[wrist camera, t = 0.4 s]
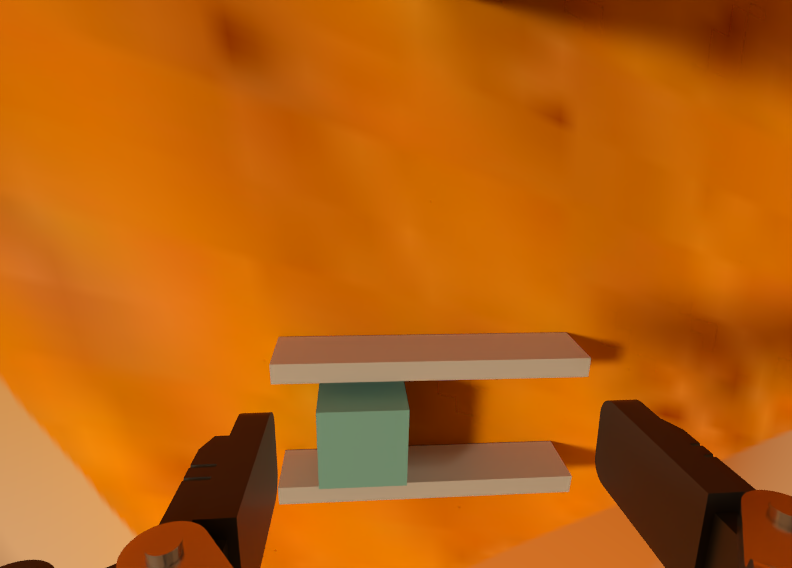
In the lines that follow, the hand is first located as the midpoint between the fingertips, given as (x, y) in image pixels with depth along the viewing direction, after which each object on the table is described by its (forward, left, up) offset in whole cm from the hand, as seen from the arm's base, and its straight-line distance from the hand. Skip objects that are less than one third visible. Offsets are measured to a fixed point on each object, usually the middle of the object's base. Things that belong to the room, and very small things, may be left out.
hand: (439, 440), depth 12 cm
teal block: (+10, -2, -18) cm, 21 cm away
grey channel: (+10, +2, -18) cm, 21 cm away
